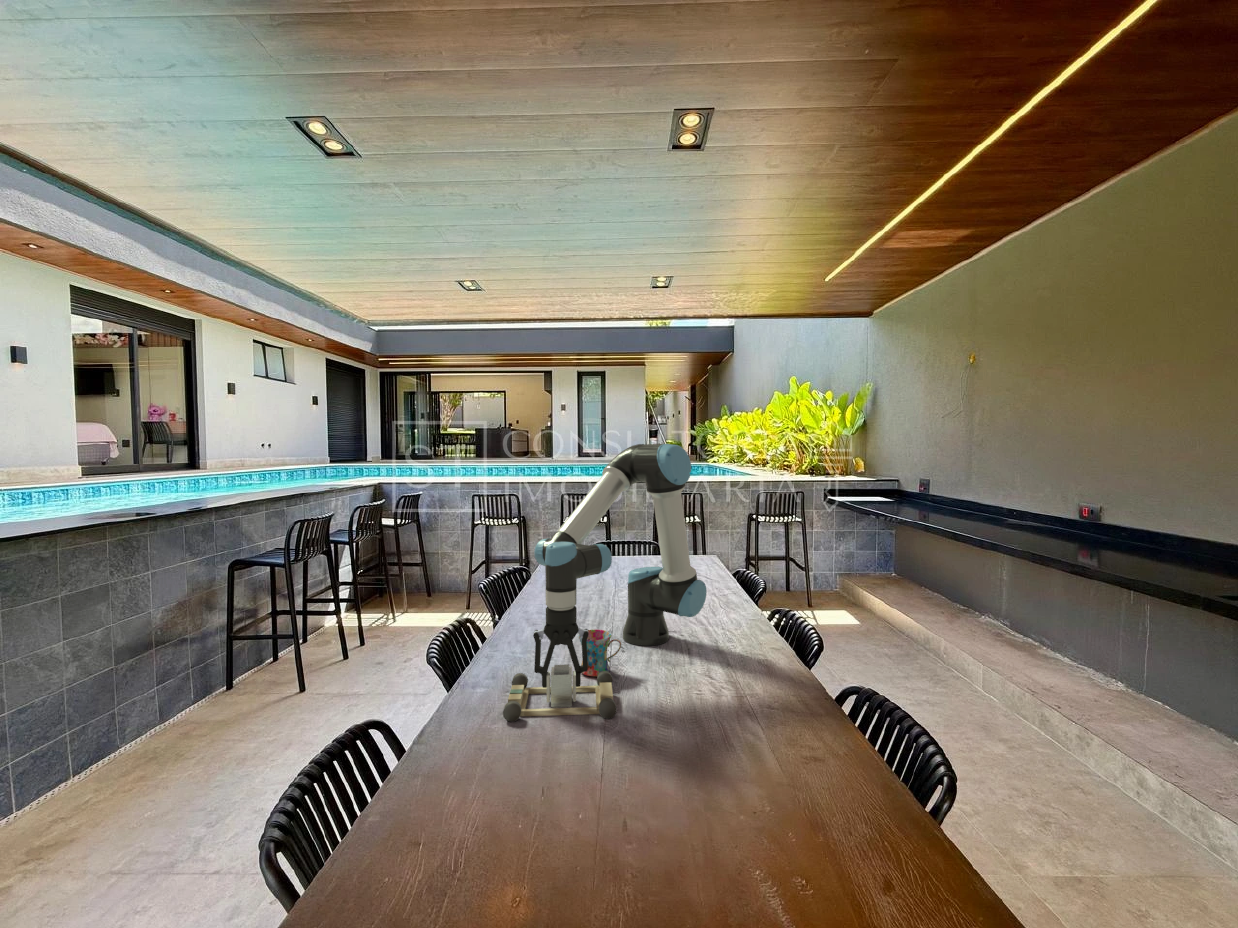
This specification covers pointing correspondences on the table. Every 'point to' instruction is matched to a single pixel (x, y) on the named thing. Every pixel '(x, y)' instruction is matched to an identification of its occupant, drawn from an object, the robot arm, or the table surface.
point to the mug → (598, 651)
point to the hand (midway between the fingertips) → (561, 699)
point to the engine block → (561, 686)
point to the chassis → (520, 697)
